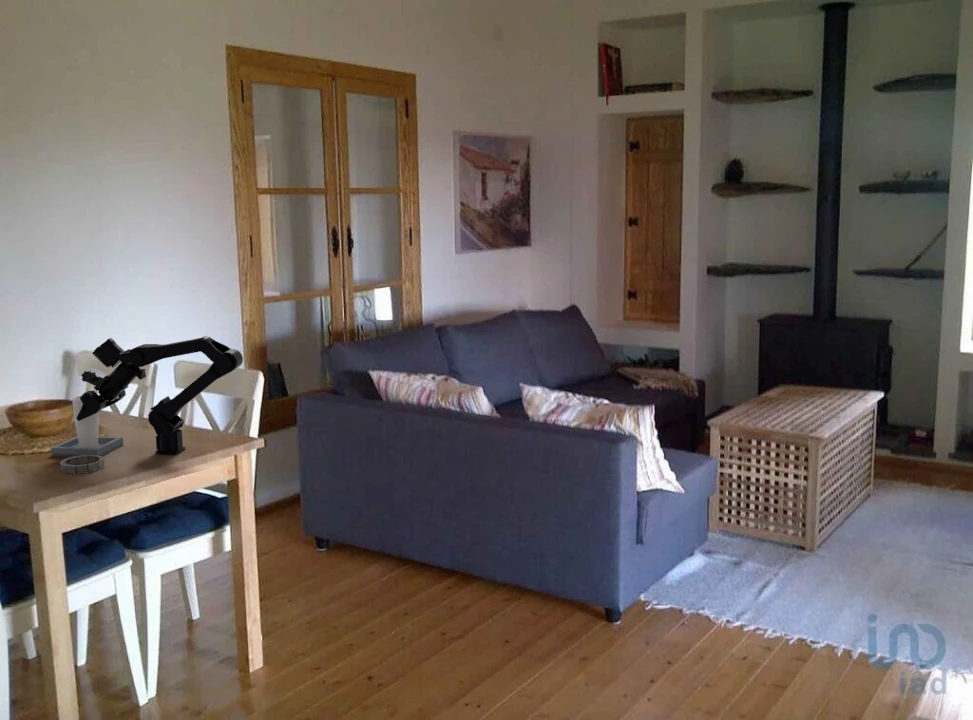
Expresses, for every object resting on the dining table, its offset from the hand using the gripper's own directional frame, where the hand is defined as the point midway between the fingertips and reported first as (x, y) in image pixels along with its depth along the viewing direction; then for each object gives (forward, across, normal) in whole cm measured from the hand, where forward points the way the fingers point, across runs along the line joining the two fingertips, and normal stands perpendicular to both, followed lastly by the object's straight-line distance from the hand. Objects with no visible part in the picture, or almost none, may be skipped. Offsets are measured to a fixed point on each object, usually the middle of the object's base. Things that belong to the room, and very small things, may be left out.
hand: (84, 415), depth 274 cm
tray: (+7, 0, +8) cm, 10 cm away
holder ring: (+3, +17, +12) cm, 21 cm away
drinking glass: (+7, 0, +7) cm, 10 cm away
